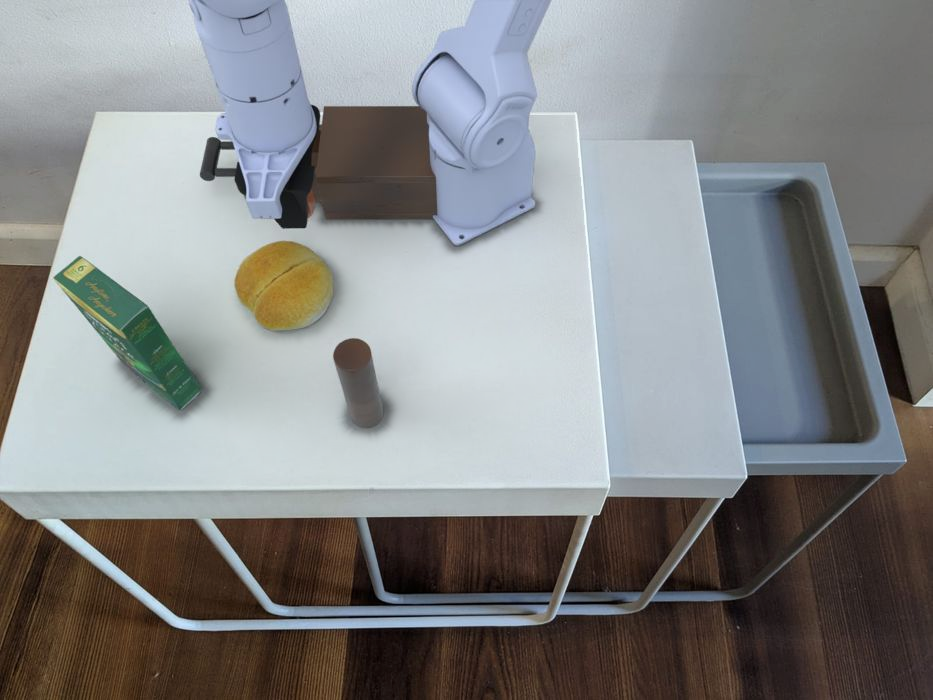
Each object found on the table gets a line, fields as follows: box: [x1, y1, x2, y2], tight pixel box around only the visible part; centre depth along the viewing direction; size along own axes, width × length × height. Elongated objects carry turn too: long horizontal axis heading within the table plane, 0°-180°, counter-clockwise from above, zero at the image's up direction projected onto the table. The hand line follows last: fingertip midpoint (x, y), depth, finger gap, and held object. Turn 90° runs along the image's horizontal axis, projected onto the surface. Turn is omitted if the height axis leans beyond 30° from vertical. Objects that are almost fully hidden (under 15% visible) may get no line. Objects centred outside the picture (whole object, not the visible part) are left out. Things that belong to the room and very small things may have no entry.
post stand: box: [332, 337, 384, 429], centre depth 61 cm, size 3×3×10 cm
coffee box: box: [52, 255, 203, 411], centre depth 61 cm, size 8×3×13 cm, turn 52°
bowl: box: [307, 189, 316, 219], centre depth 62 cm, size 3×3×2 cm
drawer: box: [199, 124, 322, 202], centre depth 75 cm, size 15×8×4 cm, turn 90°
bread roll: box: [234, 240, 335, 332], centre depth 70 cm, size 8×9×4 cm
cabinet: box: [316, 105, 437, 220], centre depth 75 cm, size 12×9×6 cm
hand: (296, 206), depth 63 cm, fingers closed on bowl, 3 cm apart
